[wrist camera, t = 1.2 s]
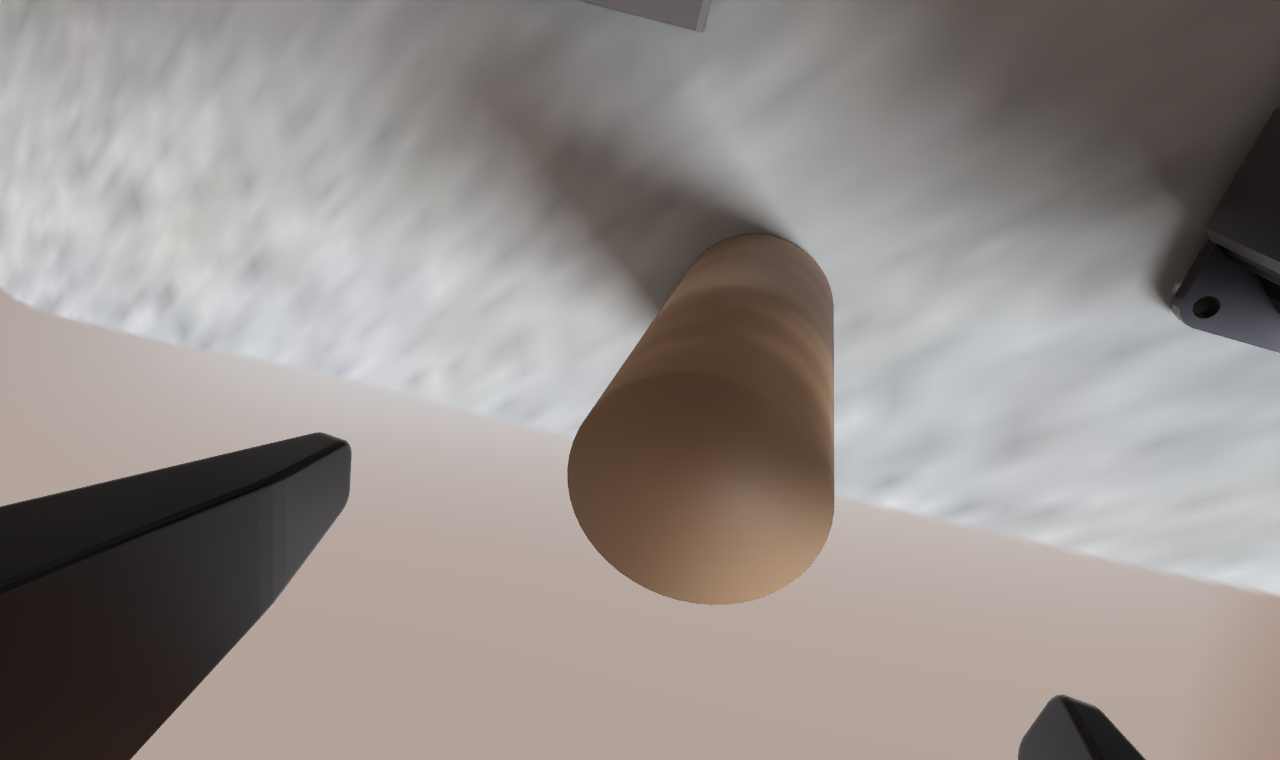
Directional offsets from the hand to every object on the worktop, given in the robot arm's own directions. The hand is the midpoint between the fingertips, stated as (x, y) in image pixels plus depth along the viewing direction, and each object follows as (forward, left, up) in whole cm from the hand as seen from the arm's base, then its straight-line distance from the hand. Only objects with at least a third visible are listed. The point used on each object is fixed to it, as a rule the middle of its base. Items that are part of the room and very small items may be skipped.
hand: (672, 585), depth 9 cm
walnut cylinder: (0, 0, -11) cm, 11 cm away
